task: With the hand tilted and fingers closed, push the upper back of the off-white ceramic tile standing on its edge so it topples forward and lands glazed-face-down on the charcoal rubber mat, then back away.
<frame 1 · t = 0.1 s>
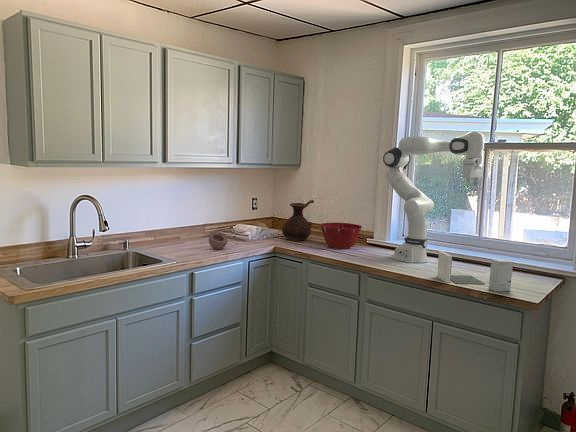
hand: (472, 185, 257), 48 cm above the worktop, tool pointing down, fingers open, 8 cm apart
skincare box: (499, 290, 225), on the worktop
jug: (296, 239, 342), on the worktop
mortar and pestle: (217, 249, 300), on the worktop
tile: (443, 279, 240), on the worktop
mat: (463, 279, 241), on the worktop
mixing bowl: (340, 247, 318), on the worktop
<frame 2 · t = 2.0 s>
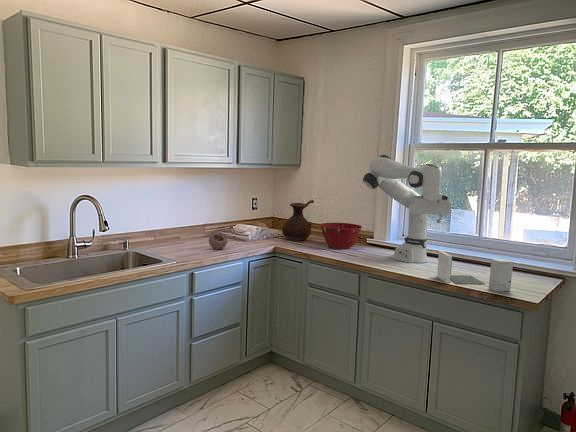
hand: (429, 222, 236), 30 cm above the worktop, tool pointing down, fingers open, 8 cm apart
nothing on the worktop moved.
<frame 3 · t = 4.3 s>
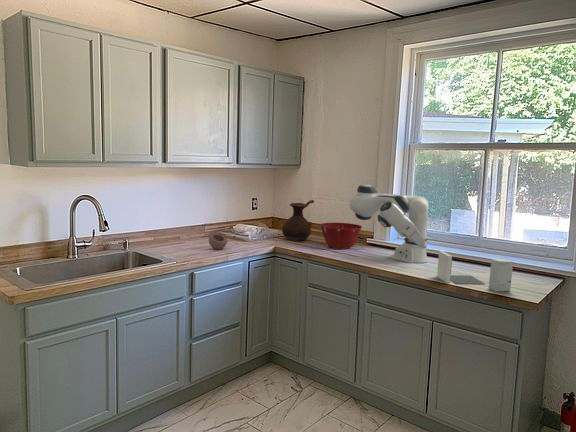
hand: (423, 247, 237), 17 cm above the worktop, tool tilted 45°, fingers closed
nothing on the worktop moved.
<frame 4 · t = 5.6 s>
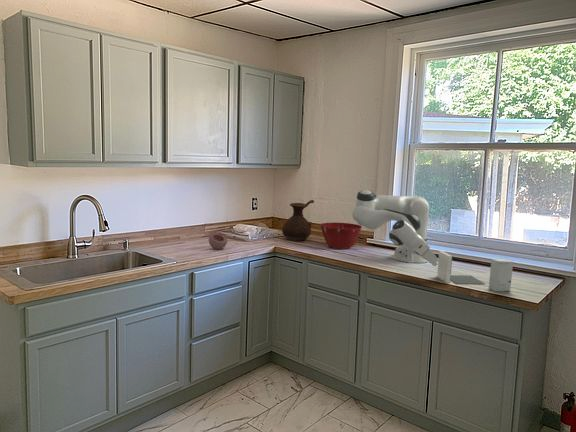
hand: (435, 264, 239), 8 cm above the worktop, tool tilted 45°, fingers closed
nothing on the worktop moved.
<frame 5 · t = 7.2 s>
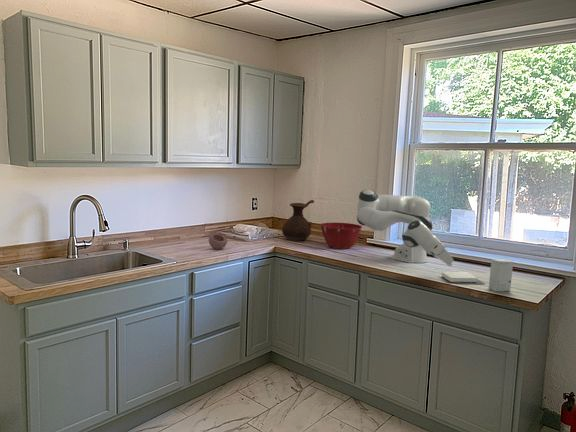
hand: (450, 265, 239), 8 cm above the worktop, tool tilted 45°, fingers closed
tile: (445, 276, 240), point 2 cm above the worktop, tilted 90°, touching mat
everything else where it was.
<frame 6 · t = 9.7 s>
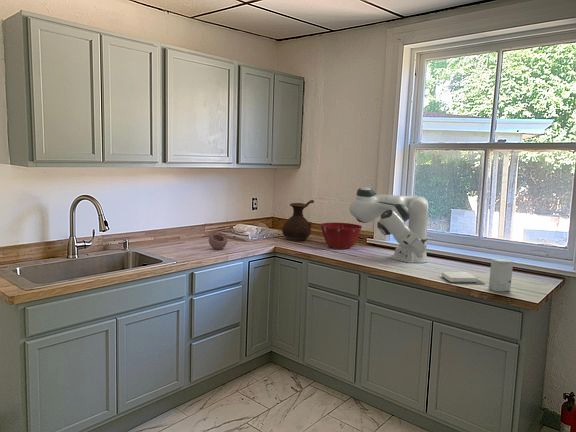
hand: (420, 257, 238), 12 cm above the worktop, tool tilted 40°, fingers closed
nothing on the worktop moved.
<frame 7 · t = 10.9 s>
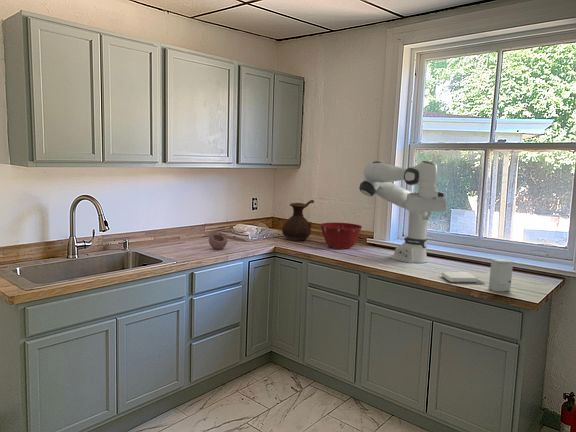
hand: (425, 219, 237), 31 cm above the worktop, tool pointing down, fingers closed
nothing on the worktop moved.
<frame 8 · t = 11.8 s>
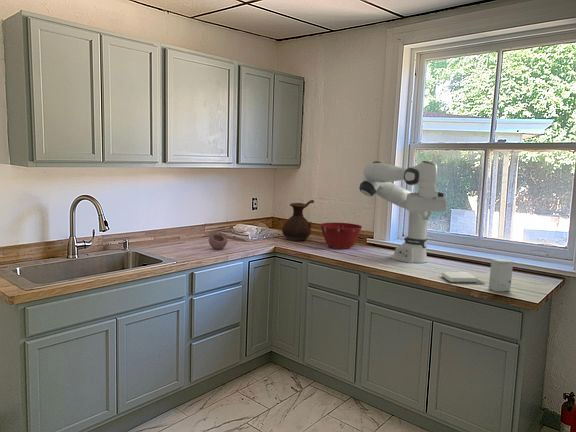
hand: (425, 219, 237), 31 cm above the worktop, tool pointing down, fingers closed
nothing on the worktop moved.
at the end: tile tilted 90°; tile 9.8 cm from the mat (horizontally); tile point 1.7 cm above the worktop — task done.
